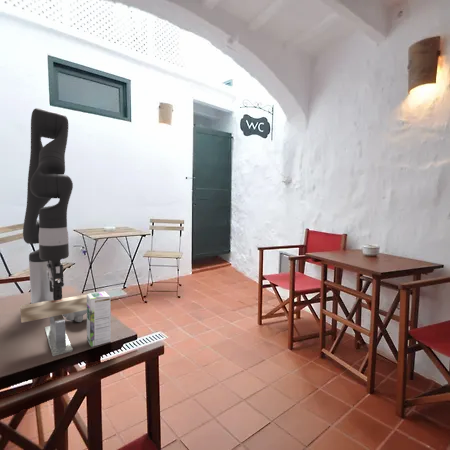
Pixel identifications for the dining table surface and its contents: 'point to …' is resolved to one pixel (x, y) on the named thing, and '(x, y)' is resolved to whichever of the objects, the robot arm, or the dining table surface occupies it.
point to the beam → (53, 308)
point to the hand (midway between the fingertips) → (55, 295)
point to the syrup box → (98, 318)
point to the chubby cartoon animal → (75, 316)
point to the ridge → (58, 336)
